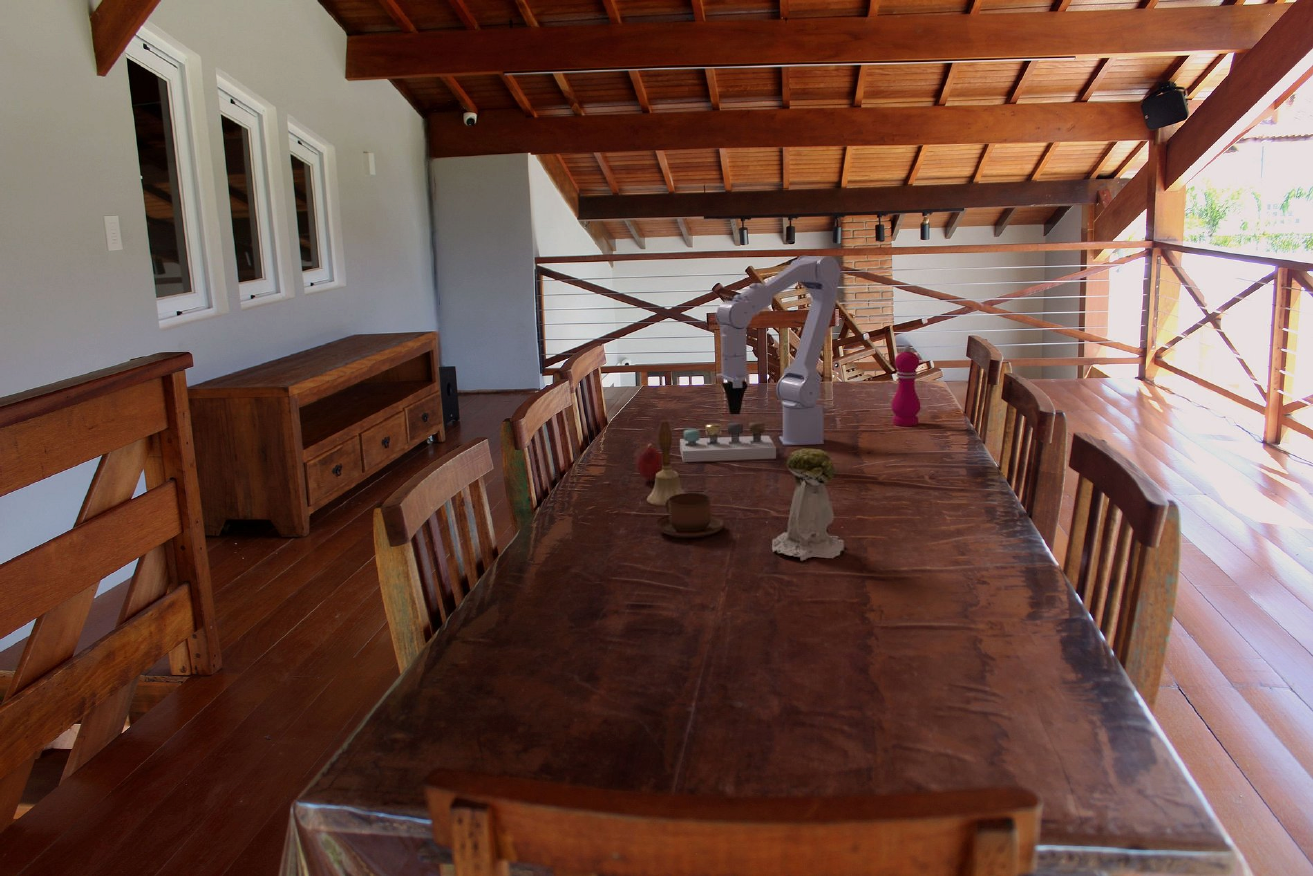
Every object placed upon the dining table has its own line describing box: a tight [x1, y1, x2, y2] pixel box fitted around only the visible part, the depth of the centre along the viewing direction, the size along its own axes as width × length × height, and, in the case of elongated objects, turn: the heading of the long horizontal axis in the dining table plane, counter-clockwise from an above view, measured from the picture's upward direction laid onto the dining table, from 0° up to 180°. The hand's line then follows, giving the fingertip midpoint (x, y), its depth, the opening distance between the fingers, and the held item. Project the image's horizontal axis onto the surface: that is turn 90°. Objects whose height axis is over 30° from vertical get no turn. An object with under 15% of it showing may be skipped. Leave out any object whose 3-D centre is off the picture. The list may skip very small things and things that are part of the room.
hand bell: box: [646, 419, 686, 507], centre depth 195 cm, size 8×8×16 cm
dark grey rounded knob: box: [726, 422, 744, 443], centre depth 230 cm, size 4×4×4 cm
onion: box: [636, 443, 663, 482], centre depth 210 cm, size 6×6×8 cm
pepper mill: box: [890, 345, 921, 427], centre depth 253 cm, size 7×7×20 cm
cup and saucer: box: [655, 492, 725, 539], centre depth 177 cm, size 12×12×6 cm
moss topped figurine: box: [771, 448, 845, 561], centre depth 165 cm, size 11×12×17 cm
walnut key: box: [748, 421, 766, 442], centre depth 230 cm, size 4×4×4 cm
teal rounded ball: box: [683, 428, 701, 446], centre depth 230 cm, size 4×4×4 cm
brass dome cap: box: [704, 422, 722, 444], centre depth 230 cm, size 4×4×4 cm
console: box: [679, 435, 777, 463], centre depth 231 cm, size 21×12×2 cm, turn 92°
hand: (734, 413), depth 229 cm, fingers closed
